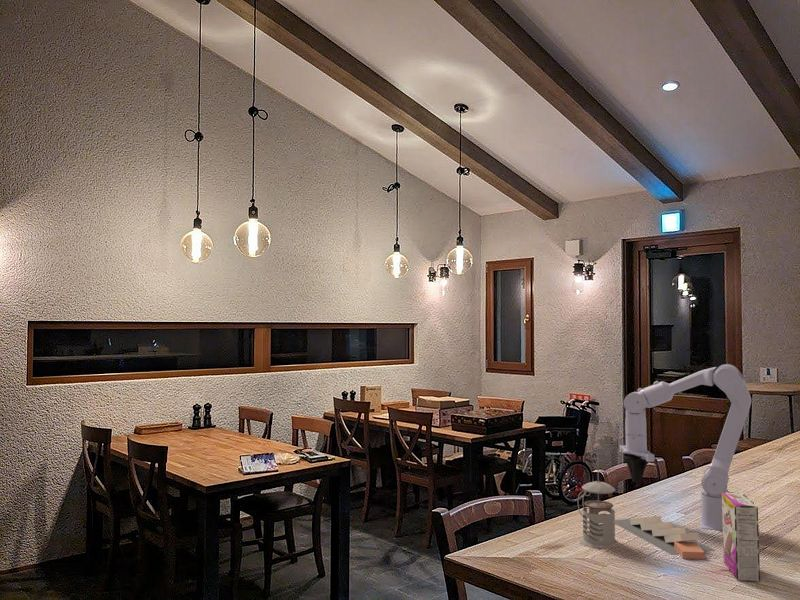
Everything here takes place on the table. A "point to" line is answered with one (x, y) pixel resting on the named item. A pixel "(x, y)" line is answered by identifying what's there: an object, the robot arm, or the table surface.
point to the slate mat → (654, 537)
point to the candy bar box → (741, 536)
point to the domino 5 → (689, 550)
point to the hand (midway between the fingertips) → (636, 482)
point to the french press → (598, 516)
